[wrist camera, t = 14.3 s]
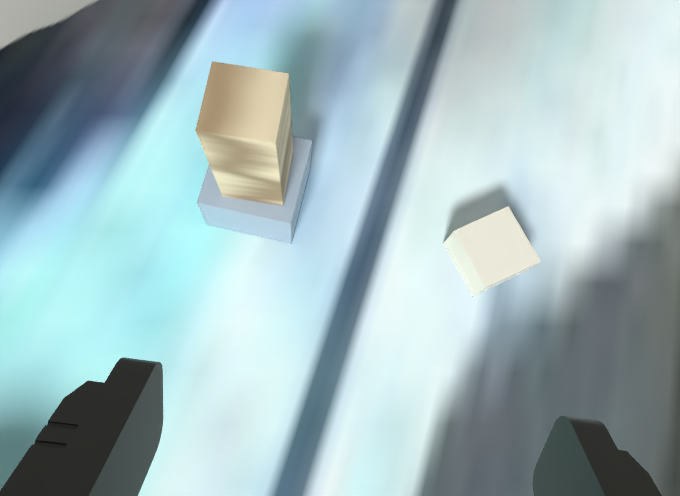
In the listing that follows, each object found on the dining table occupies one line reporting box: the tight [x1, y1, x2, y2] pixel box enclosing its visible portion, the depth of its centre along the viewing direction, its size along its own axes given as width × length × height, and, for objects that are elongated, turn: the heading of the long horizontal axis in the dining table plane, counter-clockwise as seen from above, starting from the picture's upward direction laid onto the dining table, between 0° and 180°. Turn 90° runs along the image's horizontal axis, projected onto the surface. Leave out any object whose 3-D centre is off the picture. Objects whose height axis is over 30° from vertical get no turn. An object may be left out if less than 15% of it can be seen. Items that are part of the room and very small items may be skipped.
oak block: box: [196, 62, 293, 206], centre depth 36 cm, size 4×4×10 cm
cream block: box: [443, 206, 541, 297], centre depth 44 cm, size 5×5×4 cm
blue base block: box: [197, 136, 312, 244], centre depth 43 cm, size 7×7×5 cm
